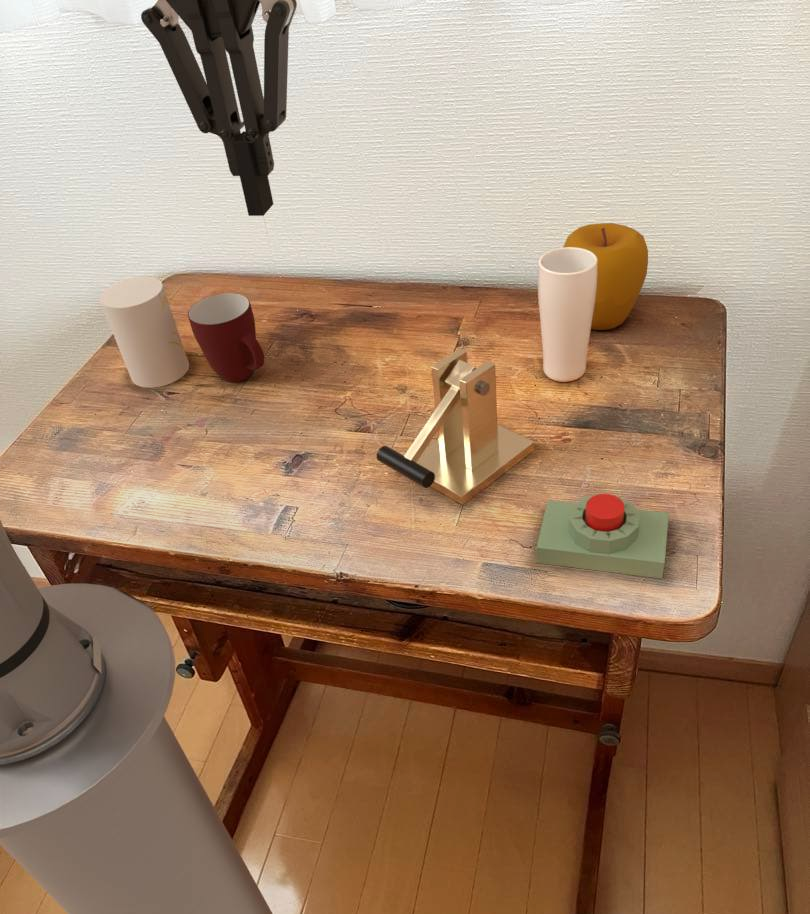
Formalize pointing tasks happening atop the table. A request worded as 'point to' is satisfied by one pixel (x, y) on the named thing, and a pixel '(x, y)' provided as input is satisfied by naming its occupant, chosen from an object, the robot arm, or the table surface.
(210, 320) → the mug
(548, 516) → the control pad
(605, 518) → the stop button
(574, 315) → the drinking glass
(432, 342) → the table surface
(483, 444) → the power switch
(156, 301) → the cup
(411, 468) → the lever
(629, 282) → the apple
